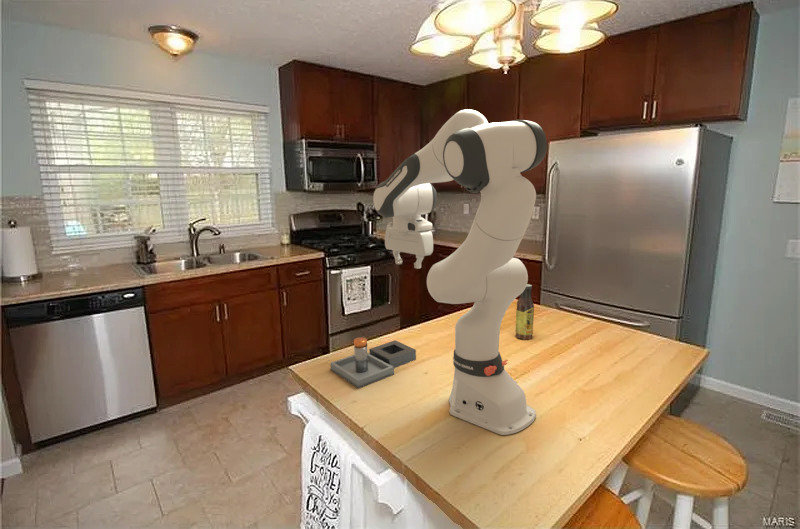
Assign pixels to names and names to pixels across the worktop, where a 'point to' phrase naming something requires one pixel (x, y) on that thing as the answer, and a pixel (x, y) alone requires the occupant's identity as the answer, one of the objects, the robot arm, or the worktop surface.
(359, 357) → the pin
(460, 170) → the robot arm
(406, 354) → the receiver
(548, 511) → the worktop surface
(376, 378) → the tray
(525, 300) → the sauce bottle
